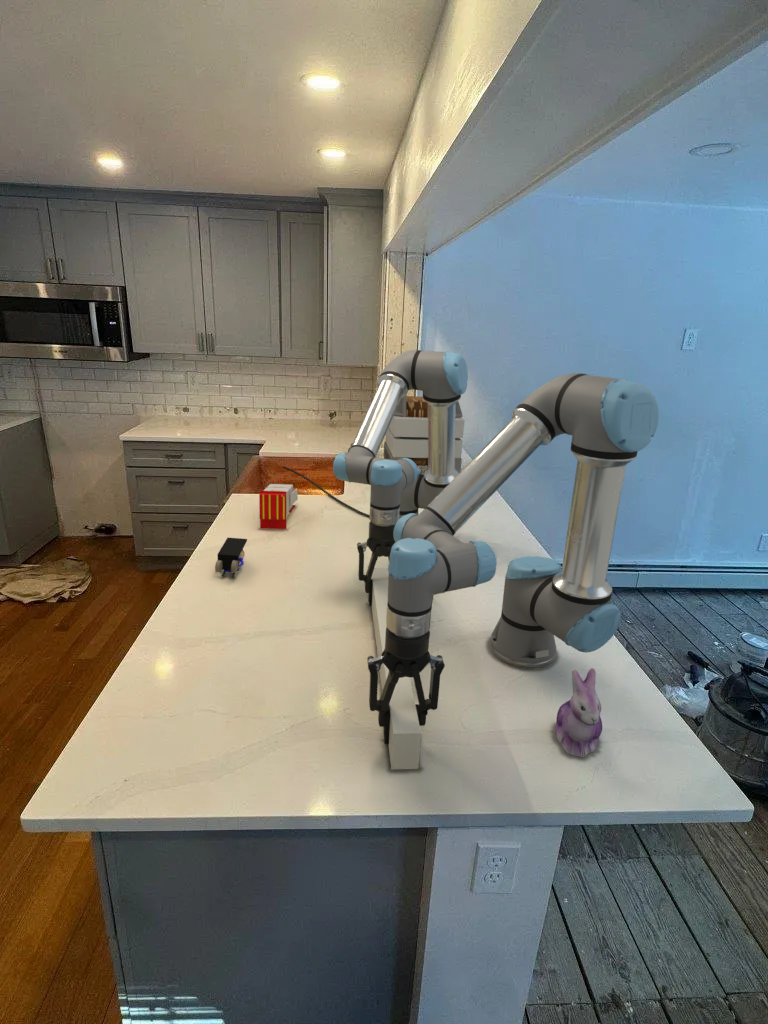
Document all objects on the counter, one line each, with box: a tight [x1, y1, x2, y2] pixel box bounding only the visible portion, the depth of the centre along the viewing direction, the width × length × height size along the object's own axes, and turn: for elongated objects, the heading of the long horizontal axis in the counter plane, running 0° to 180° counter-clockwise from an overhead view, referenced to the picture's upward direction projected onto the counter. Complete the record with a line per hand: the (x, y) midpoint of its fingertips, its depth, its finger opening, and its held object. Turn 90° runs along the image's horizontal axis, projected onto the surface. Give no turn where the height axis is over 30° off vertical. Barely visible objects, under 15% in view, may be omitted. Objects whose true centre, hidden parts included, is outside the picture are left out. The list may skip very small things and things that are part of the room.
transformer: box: [383, 393, 465, 473], centre depth 268 cm, size 34×33×41 cm
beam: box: [371, 567, 422, 771], centre depth 127 cm, size 64×5×8 cm, turn 5°
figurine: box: [554, 667, 603, 758], centre depth 104 cm, size 9×10×15 cm
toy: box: [258, 483, 299, 530], centre depth 210 cm, size 12×13×30 cm
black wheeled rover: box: [214, 537, 248, 578], centre depth 166 cm, size 7×8×15 cm
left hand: (380, 603), depth 151 cm, fingers closed on beam, 5 cm apart
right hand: (400, 738), depth 104 cm, fingers closed on beam, 5 cm apart
